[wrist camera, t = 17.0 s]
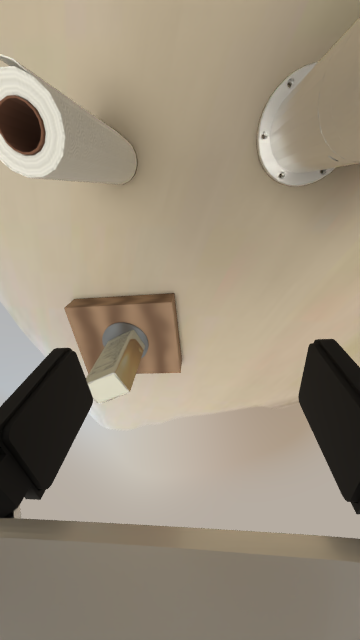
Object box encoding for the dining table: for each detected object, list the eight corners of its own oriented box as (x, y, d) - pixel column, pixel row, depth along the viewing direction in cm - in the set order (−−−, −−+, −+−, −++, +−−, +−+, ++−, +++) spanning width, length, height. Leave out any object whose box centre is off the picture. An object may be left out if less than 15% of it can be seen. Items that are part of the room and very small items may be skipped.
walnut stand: (174, 293, 44) (171, 303, 40) (181, 360, 52) (180, 374, 48) (74, 299, 46) (63, 309, 42) (95, 362, 54) (87, 375, 50)
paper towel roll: (136, 188, 36) (66, 186, 17) (97, 180, 36) (-15, 169, 17) (140, 129, 32) (58, 47, 14) (97, 120, 32) (-44, 25, 14)
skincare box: (120, 356, 47) (96, 405, 36) (107, 340, 45) (78, 386, 34) (147, 345, 45) (130, 393, 34) (135, 328, 43) (113, 373, 32)
